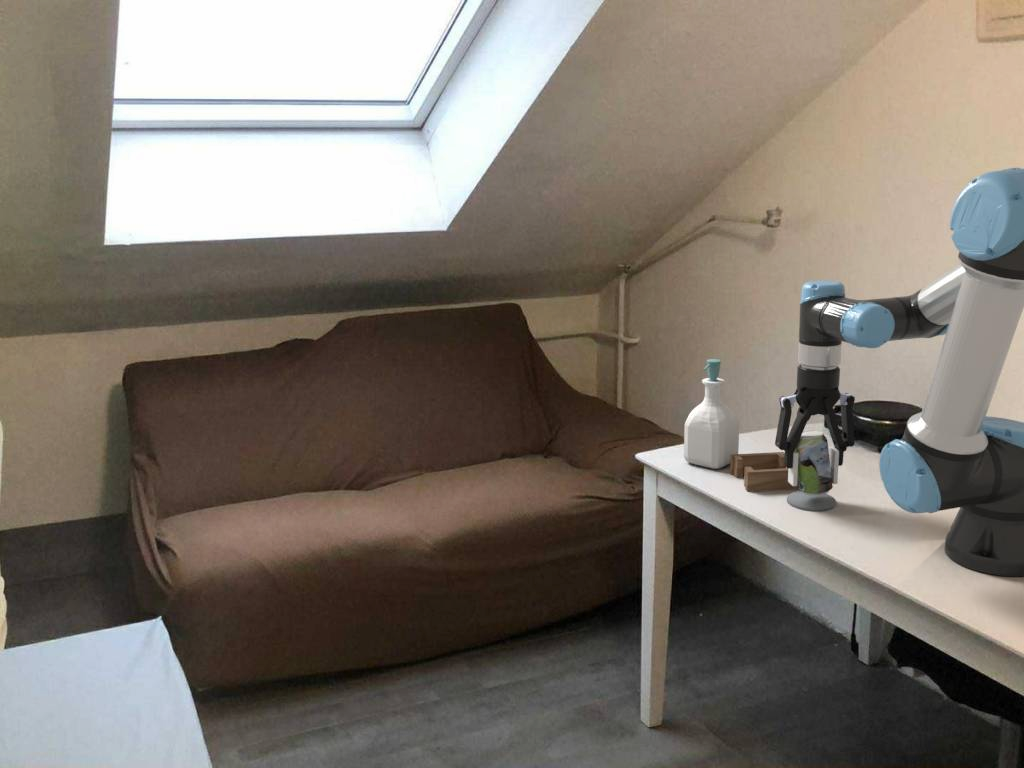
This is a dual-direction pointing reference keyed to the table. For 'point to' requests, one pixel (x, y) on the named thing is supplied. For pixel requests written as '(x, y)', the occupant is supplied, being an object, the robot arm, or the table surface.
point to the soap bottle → (711, 426)
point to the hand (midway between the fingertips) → (812, 482)
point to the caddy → (761, 471)
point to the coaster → (811, 501)
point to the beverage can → (814, 463)
